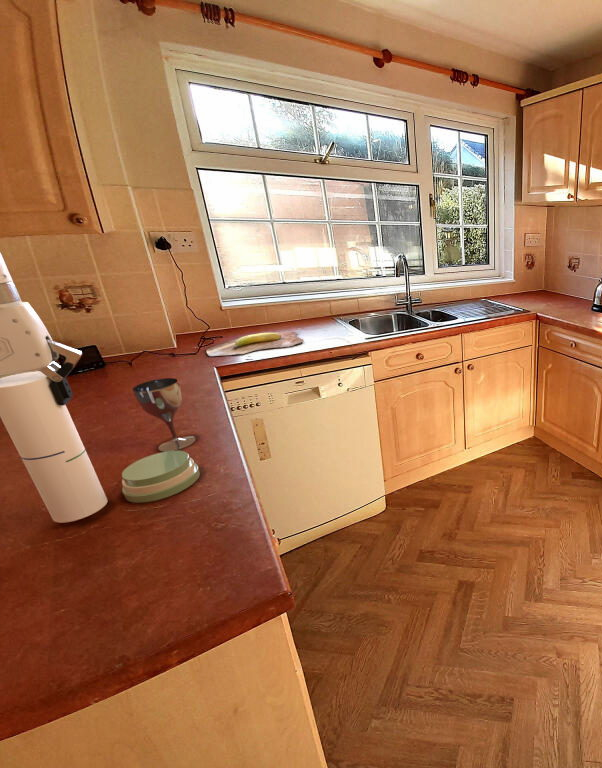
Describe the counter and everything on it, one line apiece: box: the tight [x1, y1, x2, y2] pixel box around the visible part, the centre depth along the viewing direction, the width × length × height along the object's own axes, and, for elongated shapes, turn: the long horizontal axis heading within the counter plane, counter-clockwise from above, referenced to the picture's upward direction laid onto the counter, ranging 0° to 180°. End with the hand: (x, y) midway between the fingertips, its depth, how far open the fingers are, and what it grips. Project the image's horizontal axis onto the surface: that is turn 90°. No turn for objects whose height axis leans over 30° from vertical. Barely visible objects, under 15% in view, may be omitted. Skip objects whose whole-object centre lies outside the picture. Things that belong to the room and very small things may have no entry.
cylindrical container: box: [0, 370, 109, 524], centre depth 71 cm, size 7×7×25 cm
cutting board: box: [205, 331, 305, 357], centre depth 174 cm, size 35×27×4 cm
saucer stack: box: [121, 450, 201, 504], centre depth 83 cm, size 12×12×4 cm
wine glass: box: [132, 377, 197, 452], centre depth 96 cm, size 8×8×15 cm
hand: (32, 406), depth 68 cm, fingers closed on cylindrical container, 7 cm apart
